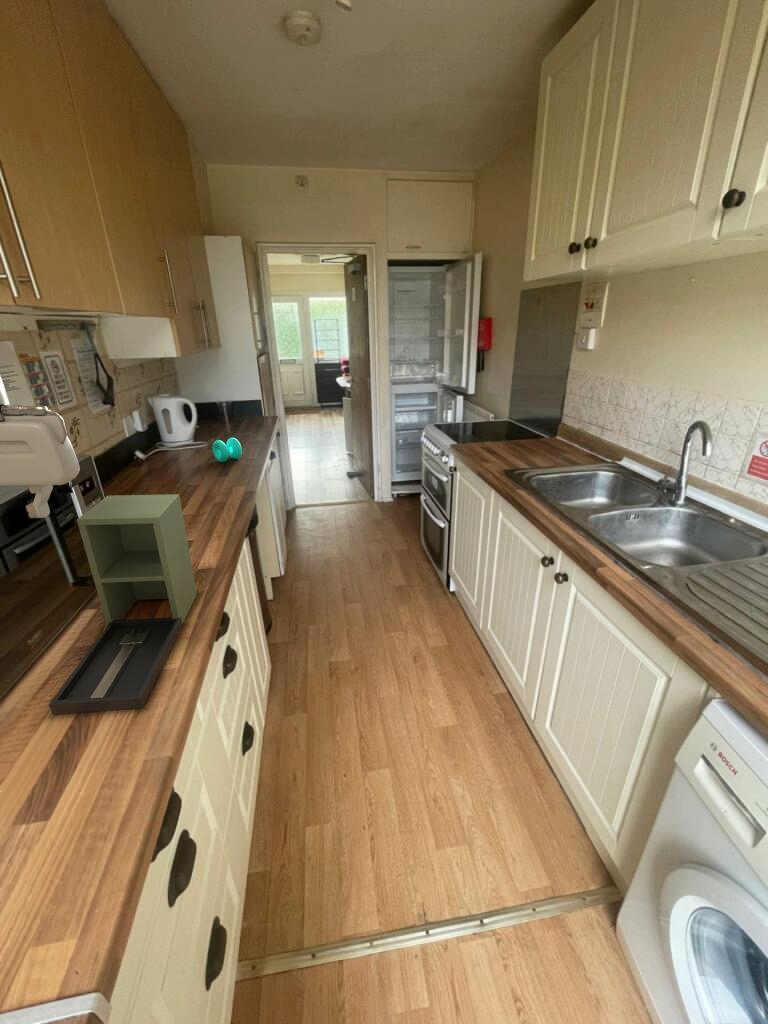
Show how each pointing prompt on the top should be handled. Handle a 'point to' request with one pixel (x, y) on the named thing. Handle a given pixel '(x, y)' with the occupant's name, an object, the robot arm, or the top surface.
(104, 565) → the shelf
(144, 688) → the tray
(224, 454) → the turquoise spool
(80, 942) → the top surface
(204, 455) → the top surface
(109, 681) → the fork
